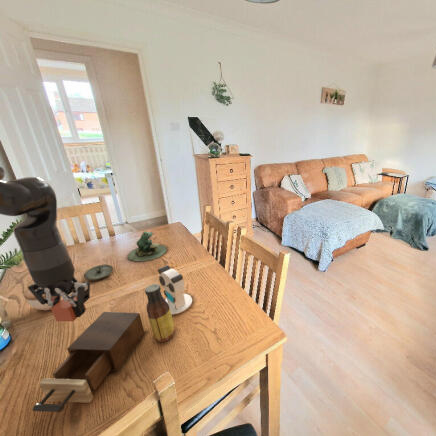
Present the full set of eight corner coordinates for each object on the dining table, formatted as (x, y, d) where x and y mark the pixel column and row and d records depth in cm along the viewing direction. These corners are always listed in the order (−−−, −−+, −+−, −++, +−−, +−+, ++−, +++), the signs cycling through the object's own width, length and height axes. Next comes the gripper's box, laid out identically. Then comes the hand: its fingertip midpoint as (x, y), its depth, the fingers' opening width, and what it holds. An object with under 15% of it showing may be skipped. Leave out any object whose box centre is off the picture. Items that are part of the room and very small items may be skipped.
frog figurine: (172, 252, 129) (169, 233, 125) (135, 265, 116) (130, 244, 112) (158, 241, 139) (155, 223, 135) (123, 252, 127) (117, 233, 122)
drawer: (74, 423, 55) (65, 405, 53) (29, 422, 55) (18, 403, 53) (123, 357, 71) (117, 340, 69) (88, 355, 71) (81, 339, 69)
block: (56, 321, 62) (50, 308, 61) (70, 309, 67) (65, 296, 65) (73, 321, 63) (67, 308, 61) (86, 309, 67) (81, 296, 65)
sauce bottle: (177, 326, 83) (168, 280, 76) (172, 342, 78) (162, 293, 70) (157, 328, 82) (146, 281, 75) (150, 344, 76) (138, 294, 69)
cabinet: (117, 371, 68) (109, 350, 65) (76, 370, 68) (66, 348, 65) (144, 332, 81) (139, 312, 77) (110, 331, 80) (103, 311, 77)
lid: (107, 269, 115) (102, 260, 113) (118, 270, 110) (114, 261, 109) (82, 282, 106) (77, 272, 105) (93, 283, 102) (88, 273, 100)
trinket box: (55, 293, 96) (47, 273, 93) (77, 297, 94) (70, 278, 91) (23, 312, 87) (13, 291, 83) (46, 317, 85) (37, 296, 81)
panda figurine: (154, 304, 93) (146, 272, 87) (181, 289, 101) (176, 259, 96) (169, 319, 86) (162, 285, 81) (197, 302, 95) (193, 270, 89)
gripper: (90, 253, 62) (107, 305, 68) (34, 252, 61) (56, 304, 68) (65, 270, 55) (87, 326, 61) (1, 268, 54) (30, 325, 61)
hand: (71, 314), depth 64 cm, fingers closed on block, 4 cm apart
